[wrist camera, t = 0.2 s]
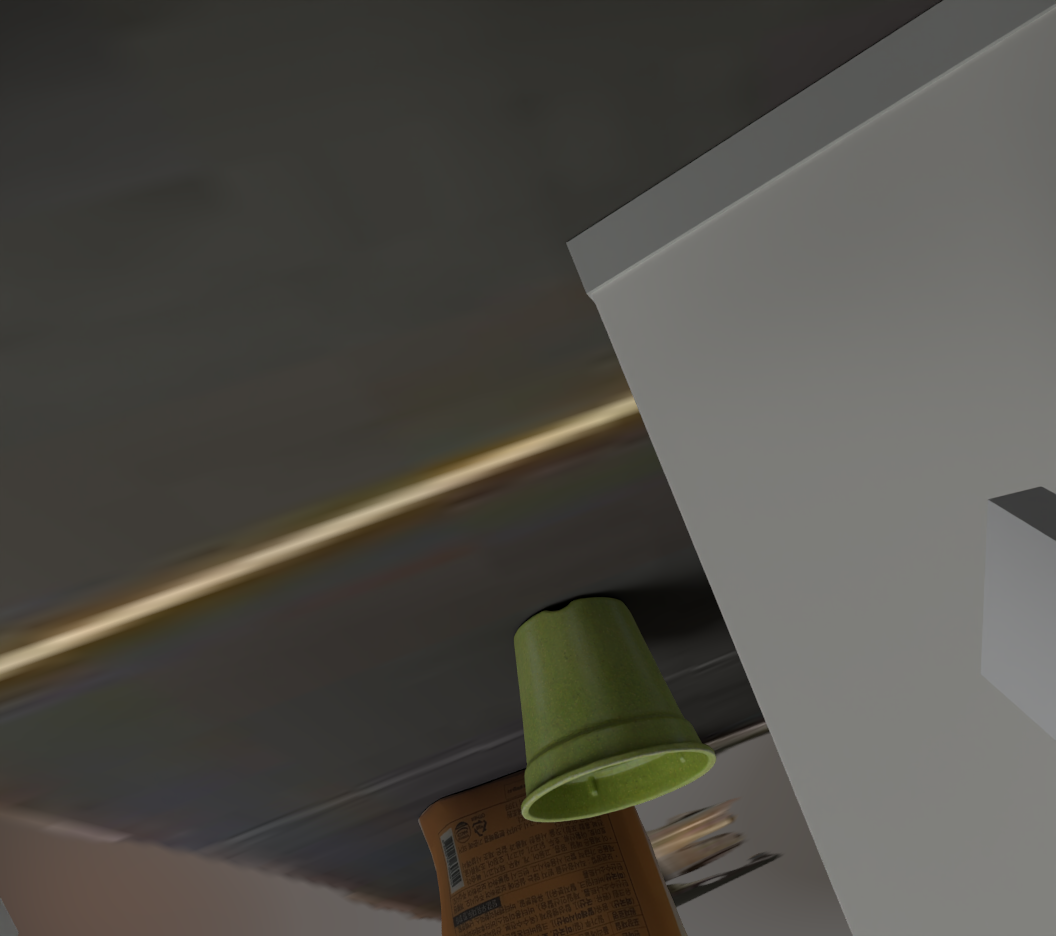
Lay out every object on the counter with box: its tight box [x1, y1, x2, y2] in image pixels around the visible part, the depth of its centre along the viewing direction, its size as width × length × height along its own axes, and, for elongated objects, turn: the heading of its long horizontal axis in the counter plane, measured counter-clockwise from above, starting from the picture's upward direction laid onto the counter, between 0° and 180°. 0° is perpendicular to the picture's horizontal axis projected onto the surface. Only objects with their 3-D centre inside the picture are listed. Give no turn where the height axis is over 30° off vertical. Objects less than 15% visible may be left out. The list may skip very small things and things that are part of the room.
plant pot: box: [514, 597, 716, 822], centre depth 46 cm, size 9×9×9 cm
